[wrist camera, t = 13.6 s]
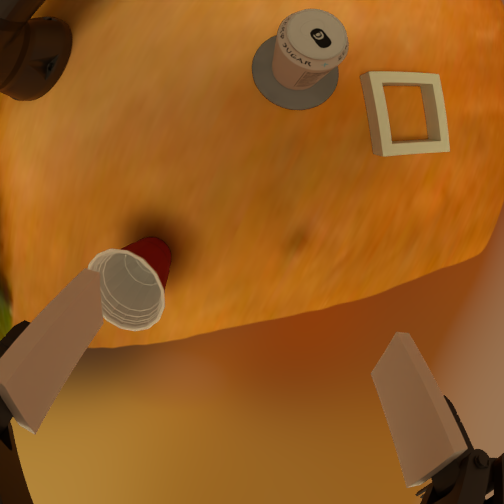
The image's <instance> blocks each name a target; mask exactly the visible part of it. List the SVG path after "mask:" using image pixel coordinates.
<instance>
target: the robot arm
mask: <svg viewBox="0 0 504 504" xmlns="http://www.w3.org/2000/svg"><path fill="white" fill-rule="evenodd" d="M44 2H45V0H0V92H1V93H3V94H5V95H8V96H10V97H11V98H13V99H15V100H19V101H31V100H35V99H37V98H39V97H41V96H43V95H44V94H45V93H46V92H48V91H49V90H50V89H51V88H52V86H53V85H54V84H55V83H56V81H57V80H58V79H59V77H60V75H61V74H62V72H63V70H64V68H65V66H66V64H67V61H68V58H69V55H70V51H71V45H72V35H71V30H70V28H69V26H68V24H67V23H66V22H64V21H63V20H60V19H58V18H55V17H40V18H32V19H30V18H31V17H32V15H33V14H34V13H35V12H36V11H37V9H38V8H39V7H40V6H41V5H42V4H43V3H44ZM102 325H103V315H102V304H101V290H100V273H99V272H96V271H92V270H89V269H84V270H82V271H81V272H80V273H79V274H78V275H77V276H76V277H75V278H74V279H73V280H72V281H71V282H70V283H69V284H68V285H67V286H66V287H65V288H64V289H63V290H62V291H61V292H60V293H59V294H58V295H57V296H56V297H55V298H54V299H53V300H52V301H51V302H50V303H49V304H48V305H47V306H46V307H45V308H44V309H43V310H42V311H41V313H40V314H39V315H38V316H37V317H36V318H35V319H34V320H33V321H32V322H31V323H30V322H28V321H25V320H24V321H23V322H21V323H19V324H17V325H15V326H14V327H13V328H12V329H11V330H10V331H9V332H8V333H7V334H6V337H4V338H3V339H2V340H1V341H0V504H33V501H32V499H31V496H30V493H29V490H28V487H27V484H26V481H25V478H24V475H23V471H22V468H21V464H20V460H19V457H18V453H17V448H16V444H15V439H14V435H13V429H12V425H11V423H10V420H11V419H12V417H14V418H15V420H16V421H17V422H18V424H19V425H20V426H22V427H23V428H25V429H27V430H28V431H30V432H32V433H33V434H36V432H37V431H38V429H39V427H40V425H41V423H42V421H43V419H44V418H45V416H46V414H47V412H48V410H49V409H50V407H51V405H52V403H53V402H54V400H55V398H56V397H57V395H58V393H59V392H60V390H61V388H62V386H63V385H64V383H65V381H66V380H67V378H68V377H69V375H70V373H71V372H72V370H73V369H74V367H75V365H76V364H77V362H78V361H79V359H80V357H81V356H82V354H83V353H84V351H85V350H86V348H87V347H88V345H89V344H90V342H91V341H92V339H93V338H94V336H95V335H96V333H97V332H98V330H99V329H100V327H101V326H102ZM371 375H372V378H373V381H374V384H375V387H376V390H377V393H378V395H379V398H380V401H381V404H382V407H383V410H384V413H385V416H386V419H387V422H388V425H389V428H390V432H391V435H392V438H393V441H394V444H395V448H396V451H397V454H398V458H399V461H400V464H401V468H402V472H403V476H404V479H405V483H406V487H407V488H409V487H413V486H417V485H421V484H422V483H424V482H425V481H427V480H428V479H430V478H432V483H430V484H429V485H427V486H426V487H424V488H423V489H421V490H420V491H418V492H417V494H416V496H418V495H420V494H422V493H423V492H425V491H426V492H425V494H423V495H422V496H421V497H420V498H422V501H421V503H420V504H504V453H503V454H502V455H501V456H500V457H498V458H489V456H488V455H487V453H485V452H484V451H483V450H480V449H475V450H474V448H473V446H472V444H471V442H470V440H469V438H468V435H467V433H466V431H465V429H464V426H463V425H462V423H461V422H460V418H459V416H458V415H457V412H456V410H455V408H454V406H453V404H452V403H451V402H450V400H449V399H448V398H447V397H446V396H445V395H444V396H443V394H442V392H441V390H440V388H439V386H438V385H437V383H436V381H435V379H434V377H433V375H432V373H431V371H430V370H429V368H428V366H427V364H426V362H425V360H424V359H423V357H422V355H421V353H420V352H419V350H418V348H417V346H416V345H415V343H414V341H413V339H412V338H411V336H410V334H409V333H401V332H396V334H395V335H394V337H393V339H392V340H391V342H390V344H389V346H388V347H387V349H386V350H385V352H384V354H383V355H382V357H381V358H380V360H379V362H378V363H377V365H376V366H375V368H374V370H373V371H372V373H371ZM492 490H494V495H493V496H492V497H490V498H489V499H487V500H486V499H485V495H486V494H488V493H489V492H491V491H492Z"/></svg>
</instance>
